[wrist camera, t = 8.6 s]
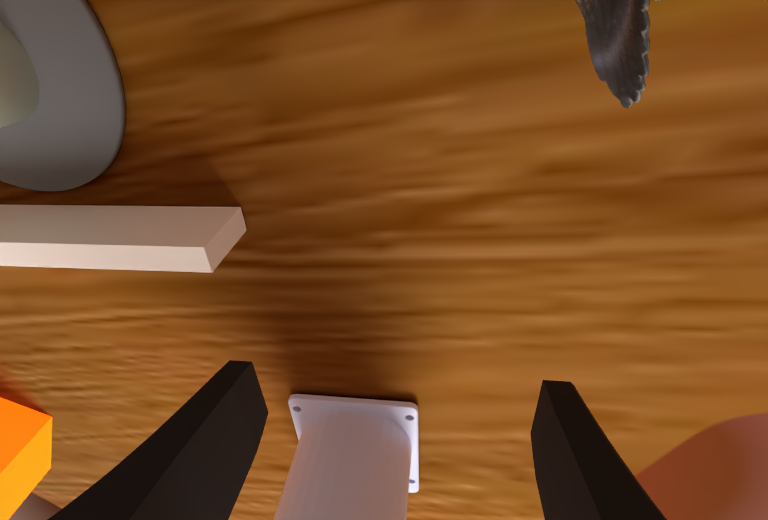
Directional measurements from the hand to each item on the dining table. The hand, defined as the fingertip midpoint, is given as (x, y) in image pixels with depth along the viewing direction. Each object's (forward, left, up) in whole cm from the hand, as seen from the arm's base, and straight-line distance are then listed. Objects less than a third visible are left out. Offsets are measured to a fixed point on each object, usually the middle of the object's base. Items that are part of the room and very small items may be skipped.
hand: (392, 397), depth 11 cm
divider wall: (0, +17, -9) cm, 19 cm away
